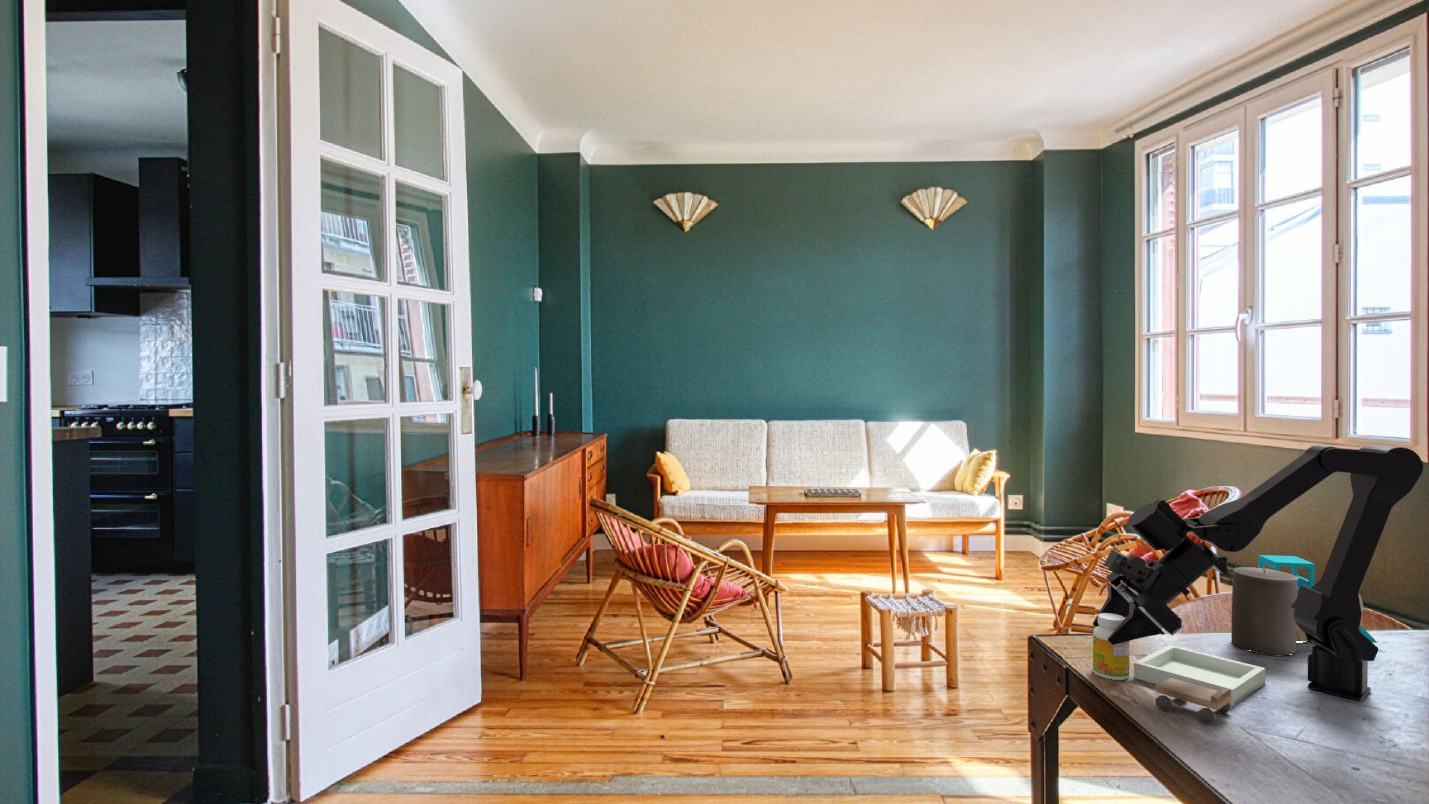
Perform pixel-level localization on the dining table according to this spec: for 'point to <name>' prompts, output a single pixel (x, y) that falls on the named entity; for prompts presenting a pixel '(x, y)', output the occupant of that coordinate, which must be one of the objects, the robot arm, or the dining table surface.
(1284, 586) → the pillar candle
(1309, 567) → the toy train
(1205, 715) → the cart
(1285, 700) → the dining table surface
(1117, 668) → the supplement bottle
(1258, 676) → the tray
